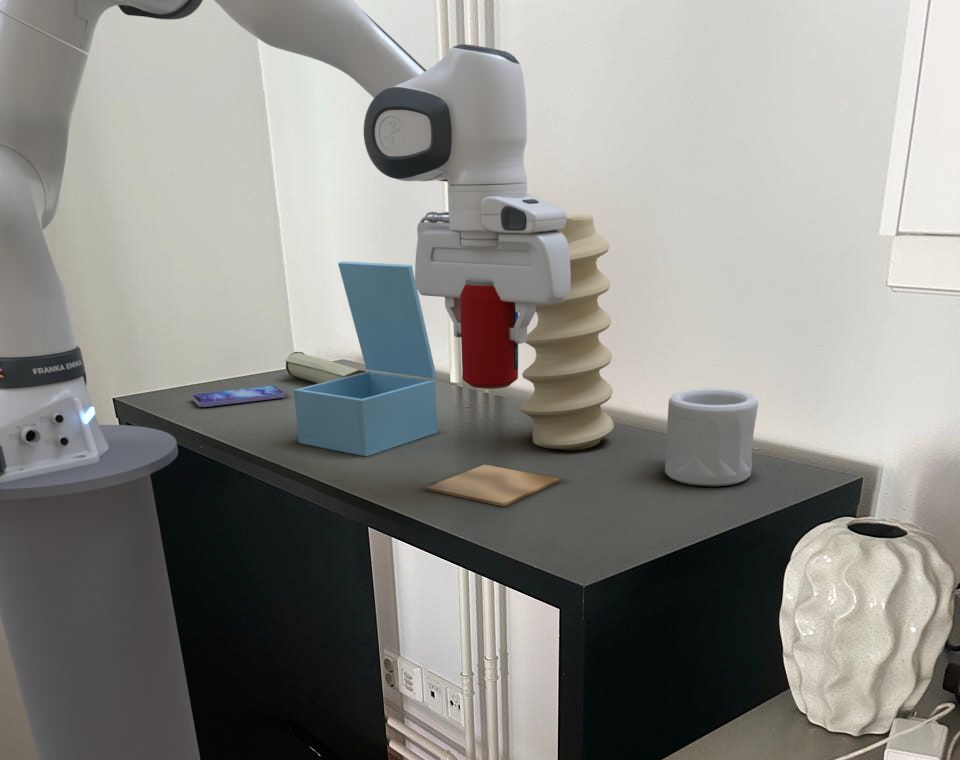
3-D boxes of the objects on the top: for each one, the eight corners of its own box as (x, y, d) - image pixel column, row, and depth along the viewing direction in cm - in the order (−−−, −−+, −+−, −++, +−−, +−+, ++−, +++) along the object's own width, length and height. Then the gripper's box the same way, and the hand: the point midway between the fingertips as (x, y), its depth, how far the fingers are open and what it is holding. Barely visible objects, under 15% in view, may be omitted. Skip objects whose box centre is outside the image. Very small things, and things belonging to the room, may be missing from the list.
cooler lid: (408, 266, 136) (411, 264, 136) (337, 263, 143) (341, 261, 144) (433, 378, 146) (436, 376, 146) (366, 369, 153) (369, 367, 154)
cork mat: (503, 506, 117) (503, 503, 117) (426, 490, 124) (426, 486, 124) (559, 481, 126) (559, 478, 125) (484, 467, 132) (484, 464, 132)
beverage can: (529, 384, 119) (530, 278, 114) (490, 393, 115) (488, 284, 110) (490, 376, 124) (489, 275, 118) (450, 385, 119) (447, 280, 114)
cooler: (366, 456, 139) (361, 400, 135) (299, 443, 146) (293, 389, 143) (437, 432, 150) (435, 380, 146) (371, 421, 157) (368, 371, 154)
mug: (769, 478, 125) (777, 398, 120) (703, 493, 120) (709, 410, 116) (697, 454, 135) (702, 380, 131) (634, 467, 131) (637, 390, 126)
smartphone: (285, 393, 173) (199, 403, 168) (286, 398, 174) (200, 408, 168) (274, 384, 179) (190, 394, 174) (274, 389, 180) (191, 399, 174)
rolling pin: (385, 401, 170) (383, 371, 168) (356, 405, 167) (354, 375, 165) (304, 373, 194) (301, 347, 192) (277, 377, 191) (274, 350, 189)
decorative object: (632, 443, 141) (642, 214, 128) (556, 458, 135) (558, 220, 122) (576, 425, 151) (579, 212, 138) (503, 438, 145) (499, 216, 132)
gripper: (399, 213, 115) (406, 336, 121) (546, 215, 103) (545, 351, 109) (434, 210, 119) (439, 329, 125) (579, 211, 108) (576, 343, 114)
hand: (490, 339), depth 117 cm, fingers closed on beverage can, 7 cm apart
